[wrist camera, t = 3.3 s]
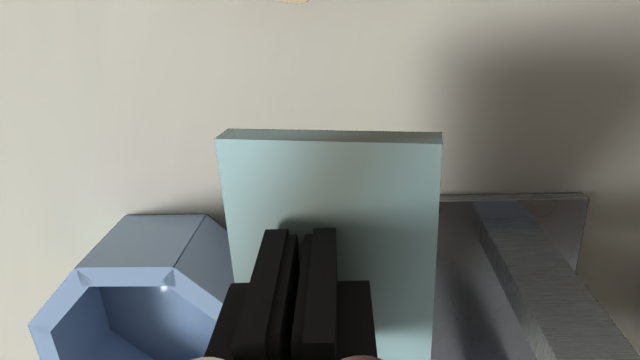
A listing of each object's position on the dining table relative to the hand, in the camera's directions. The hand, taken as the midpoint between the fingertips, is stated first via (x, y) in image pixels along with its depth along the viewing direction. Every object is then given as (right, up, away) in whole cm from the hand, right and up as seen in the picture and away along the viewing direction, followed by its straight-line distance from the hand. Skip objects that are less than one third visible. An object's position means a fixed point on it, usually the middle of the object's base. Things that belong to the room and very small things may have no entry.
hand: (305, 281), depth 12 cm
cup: (-6, -3, +10) cm, 12 cm away
